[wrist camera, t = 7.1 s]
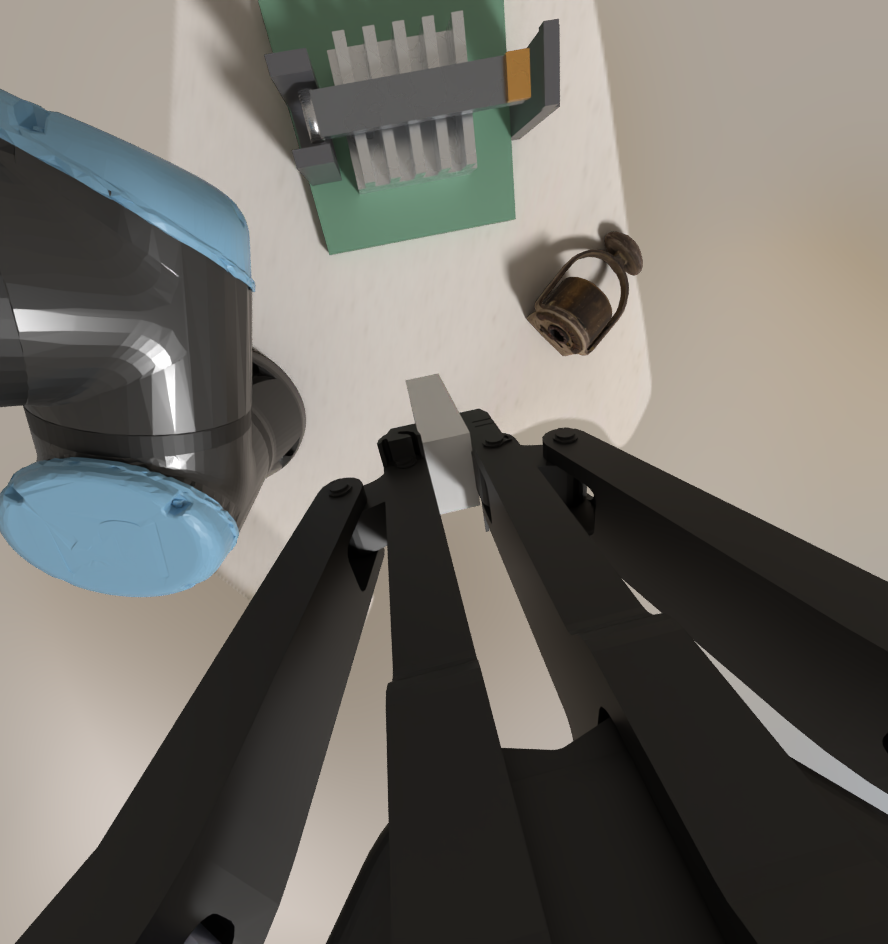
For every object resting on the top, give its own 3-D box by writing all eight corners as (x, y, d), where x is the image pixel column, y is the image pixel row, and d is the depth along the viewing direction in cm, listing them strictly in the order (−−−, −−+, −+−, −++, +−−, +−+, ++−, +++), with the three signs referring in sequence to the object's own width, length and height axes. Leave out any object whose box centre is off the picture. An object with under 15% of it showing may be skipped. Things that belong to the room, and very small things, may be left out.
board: (330, 254, 36) (329, 255, 35) (262, 9, 28) (257, -1, 27) (511, 220, 37) (515, 219, 36) (496, -28, 29) (501, -39, 28)
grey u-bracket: (312, 185, 32) (297, 168, 26) (288, 97, 29) (264, 54, 23) (342, 180, 32) (334, 162, 26) (320, 92, 30) (306, 47, 23)
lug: (504, 141, 34) (545, 106, 26) (501, 80, 32) (543, 21, 24) (519, 138, 34) (564, 102, 26) (517, 77, 32) (564, 17, 24)
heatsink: (359, 194, 33) (357, 184, 29) (331, 68, 29) (322, 32, 24) (469, 174, 34) (484, 161, 29) (456, 47, 30) (471, 8, 25)
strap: (312, 144, 27) (309, 139, 26) (299, 95, 26) (295, 87, 24) (525, 105, 27) (531, 98, 26) (523, 54, 26) (529, 45, 25)
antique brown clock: (523, 275, 35) (559, 375, 38) (661, 203, 33) (688, 315, 36) (511, 284, 42) (543, 368, 45) (625, 224, 39) (651, 317, 42)
